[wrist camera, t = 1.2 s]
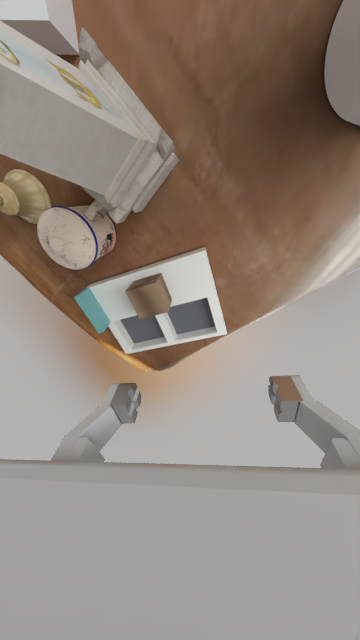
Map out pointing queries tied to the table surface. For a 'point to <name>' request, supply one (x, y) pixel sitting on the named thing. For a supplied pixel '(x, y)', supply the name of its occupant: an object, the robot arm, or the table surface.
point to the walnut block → (149, 296)
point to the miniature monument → (80, 123)
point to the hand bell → (23, 196)
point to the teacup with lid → (76, 234)
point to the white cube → (43, 23)
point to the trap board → (164, 329)
